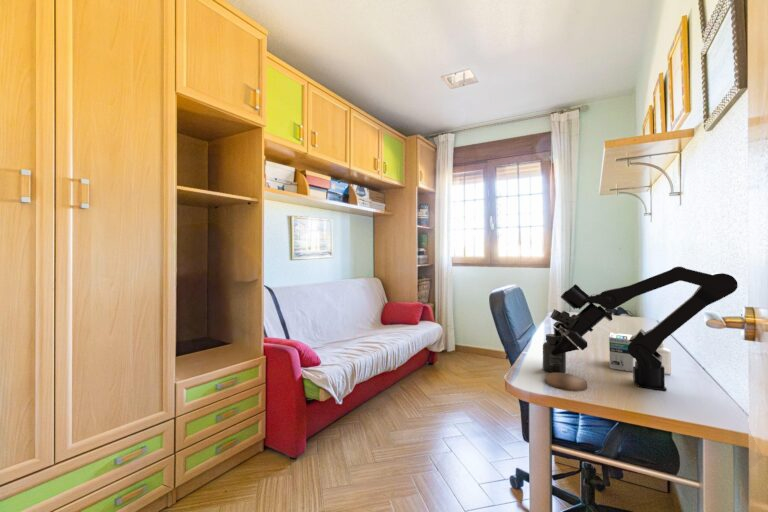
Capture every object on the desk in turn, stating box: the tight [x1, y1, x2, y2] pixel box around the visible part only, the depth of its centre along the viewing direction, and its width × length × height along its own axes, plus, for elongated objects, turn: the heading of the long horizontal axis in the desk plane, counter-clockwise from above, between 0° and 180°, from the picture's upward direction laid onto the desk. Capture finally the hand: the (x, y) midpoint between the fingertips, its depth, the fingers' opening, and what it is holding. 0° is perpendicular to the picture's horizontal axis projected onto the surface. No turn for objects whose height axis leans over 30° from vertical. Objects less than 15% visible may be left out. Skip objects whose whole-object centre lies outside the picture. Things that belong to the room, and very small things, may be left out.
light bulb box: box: [608, 331, 635, 373], centre depth 114 cm, size 11×7×11 cm, turn 143°
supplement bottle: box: [542, 333, 567, 374], centre depth 109 cm, size 7×7×12 cm
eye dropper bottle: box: [656, 340, 672, 376], centre depth 108 cm, size 4×6×12 cm
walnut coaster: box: [544, 373, 588, 392], centre depth 97 cm, size 11×11×2 cm
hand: (549, 351), depth 109 cm, fingers open, 7 cm apart
